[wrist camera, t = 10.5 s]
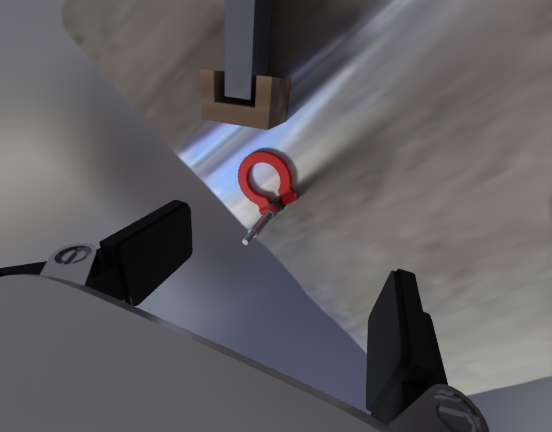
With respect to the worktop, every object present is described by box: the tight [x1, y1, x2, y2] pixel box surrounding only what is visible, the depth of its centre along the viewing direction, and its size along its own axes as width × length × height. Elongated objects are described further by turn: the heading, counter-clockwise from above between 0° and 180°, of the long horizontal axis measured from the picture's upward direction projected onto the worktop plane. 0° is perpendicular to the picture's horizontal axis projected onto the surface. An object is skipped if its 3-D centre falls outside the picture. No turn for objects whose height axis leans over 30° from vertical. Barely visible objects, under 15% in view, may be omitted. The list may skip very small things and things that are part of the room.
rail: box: [225, 0, 273, 100], centre depth 25 cm, size 17×3×5 cm, turn 177°
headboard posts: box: [200, 69, 291, 130], centre depth 25 cm, size 22×8×8 cm, turn 177°
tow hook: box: [238, 151, 298, 245], centre depth 33 cm, size 8×13×9 cm
